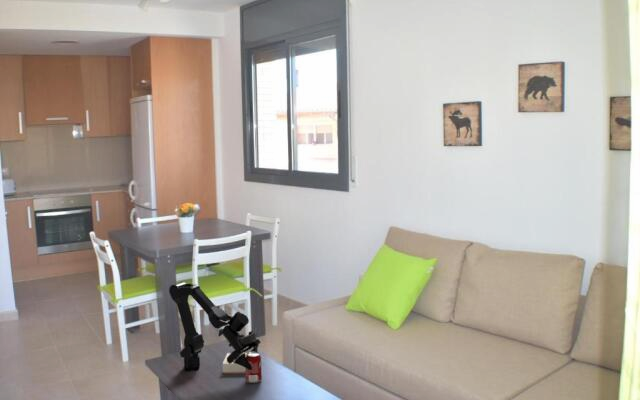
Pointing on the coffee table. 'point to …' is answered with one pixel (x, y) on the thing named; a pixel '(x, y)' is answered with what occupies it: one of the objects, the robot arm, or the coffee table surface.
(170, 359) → the coffee table surface
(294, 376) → the coffee table surface
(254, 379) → the soda can
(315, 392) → the coffee table surface
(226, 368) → the open box
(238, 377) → the coffee table surface
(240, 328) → the robot arm
